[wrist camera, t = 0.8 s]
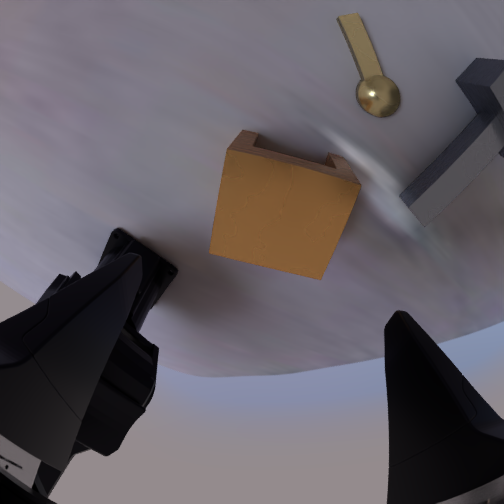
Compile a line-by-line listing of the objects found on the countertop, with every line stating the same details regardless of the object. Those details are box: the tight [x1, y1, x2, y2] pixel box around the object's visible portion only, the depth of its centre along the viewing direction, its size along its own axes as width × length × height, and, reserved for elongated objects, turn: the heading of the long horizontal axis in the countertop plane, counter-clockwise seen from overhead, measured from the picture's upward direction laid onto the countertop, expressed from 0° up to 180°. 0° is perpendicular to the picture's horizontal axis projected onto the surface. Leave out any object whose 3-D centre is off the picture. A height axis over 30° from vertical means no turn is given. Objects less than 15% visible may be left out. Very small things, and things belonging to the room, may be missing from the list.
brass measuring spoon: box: [336, 13, 400, 117], centre depth 13 cm, size 7×3×1 cm, turn 23°
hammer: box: [399, 58, 504, 227], centre depth 13 cm, size 12×7×4 cm, turn 143°
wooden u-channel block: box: [209, 130, 362, 280], centre depth 16 cm, size 6×6×5 cm
